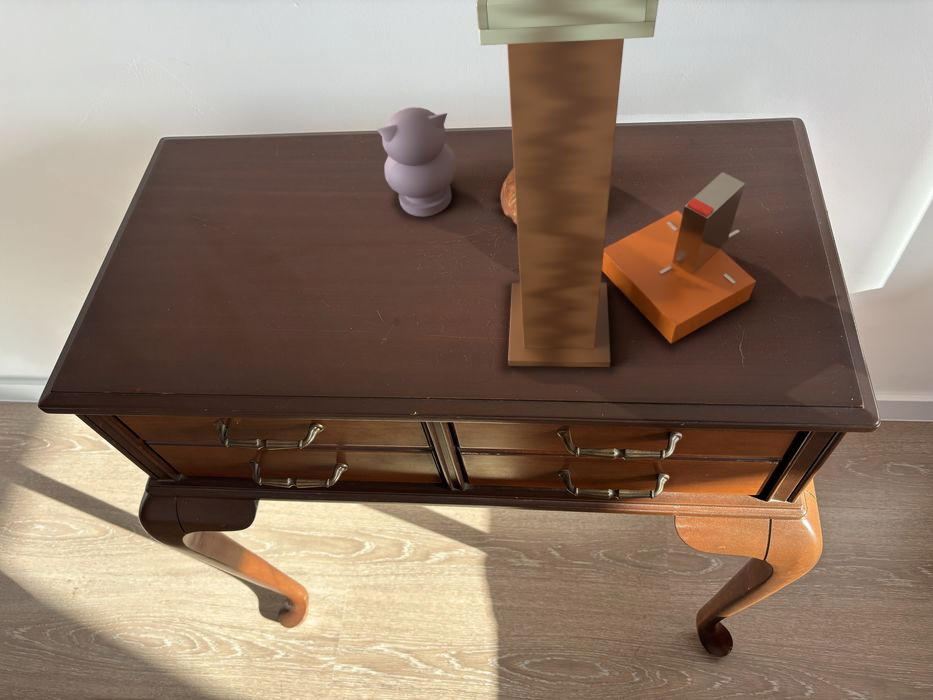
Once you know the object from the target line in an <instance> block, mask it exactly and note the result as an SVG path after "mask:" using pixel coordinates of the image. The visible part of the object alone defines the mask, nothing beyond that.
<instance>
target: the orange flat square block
mask: <svg viewBox="0 0 933 700" xmlns="http://www.w3.org/2000/svg"><path fill="white" fill-rule="evenodd" d="M682 216H683V213H681V212H680V211H679V210H676V211H674V212H671V213H670V214H668V215H665V216H664V217H662V218H660V219H658V220H656V221H654V222H652V223H651V224H648V225H647V226H644V227H643V228H641V229H638V230H637V231H635V232H633V233H631V234H629V235H627V236H624V237H623V238H622V239H619V240H618V241H616V242H614V243H612V244H610V245H608V246H606V247H604V255H603V265H602V273H603V274H605V276H606V277H607V278H608V279H609V280H610V281H611V282H612V283H613V284H614V285H615V287H616V288H617V289H619V290H620V291H621V292H622V293H623V295H624V296H626V298H627V299H628V300H629V301H630V302H631V303H632V304H633V305H634V306H635V307H636V309H638V311H639V312H640V313H642V315H643V316H644V317H645V318H646V319H647V320H648V321H649V322H650V323H651V324H652V325H653V326H654V328H655V329H656V330H658V332H659V333H660V334H661V335H662V336H663V337H664V338H665V339H666V341H668V343H670V344H673V343H675V342H677V341H679V340H680V339H682V338H684V337H685V336H687V335H689V334H691V333H692V332H694V331H696V330H698V329H699V328H701V327H703V326H705V325H707V324H709V323H710V322H712V321H714V320H715V319H717V318H720V317H721V316H723V315H724V314H726V313H728V312H730V311H731V310H733V309H735V308H736V307H738V306H741V305H742V304H744V303H745V302H747V301H749V300H750V298H751V295H752V293H753V290H754V287H755V286H756V282H757V281H756V279H754V278H753V277H752V276H751V275H750V274H749V273H748V272H746V271H745V270H744V269H743V268H742V267H741V266H740V265H739V264H738V263H736V261H734V260H733V259H732V258H731V257H730V256H729V255H728V254H727V253H726V252H724V251H723V250H722V249H721V248H720V249H719V250H718V251H717V252H716V253H715V254H714V255H713V256H711V257H710V258H709V259H708V260H707V261H706V262H705V263H704V264H703V265H702V266H701V267H700V268H699V269H698V270H697V271H696V272H695V273H694V274H693V275H692V274H690V273H689V272H687V271H685V270H684V269H682V268H680V267H679V266H677V265H675V264H674V263H672V261H673V257H674V252H675V248H676V243H677V239H678V234H679V230H680V225H681V220H682ZM738 234H740V230H739V229H736V230H734V231H732V232H730V234H729V237H728V239H731V238H732V237H734V236H736V235H738Z"/></svg>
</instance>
